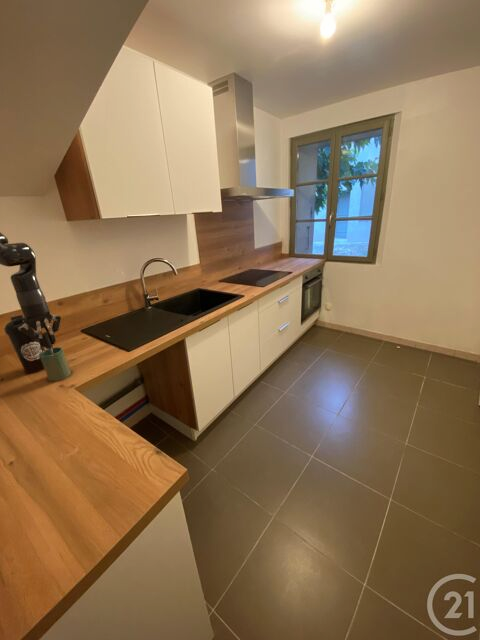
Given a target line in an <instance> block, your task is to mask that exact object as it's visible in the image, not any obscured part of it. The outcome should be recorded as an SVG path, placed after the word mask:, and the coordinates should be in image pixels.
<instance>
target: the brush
mask: <svg viewBox="0 0 480 640" xmlns="http://www.w3.org/2000/svg"><path fill="white" fill-rule="evenodd" d="M42 337H43V338H44V340H45V343H46V345H47V347H45V348H46V349H45V350H47V349H49V351H50V354H51V355H52V354H54V353H53V350H52V348H54V344H52V342H51V339H50V336H49V334H48V332H47V331H44V332H42Z"/></svg>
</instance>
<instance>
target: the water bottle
mask: <svg viewBox="0 0 480 640" xmlns="http://www.w3.org/2000/svg"><path fill="white" fill-rule="evenodd" d="M23 324H25V317H24V315H23V314H19V315H14V316H11V317H10V321H9V322H7V323H6V324H5V326H4V328H3V330H4V333H5V334H6V336H8V338H9V341H10V343H11V345H12V347H13V349H14V351H15V353H16V355H17V358H18V359H19V362H20V364H21V366H22V368H23V370H24V372H25V373H26V374H34V373H38V372H41V371H43V370H44V367H43V364H42V362H41V359H40V357H39V354H40V353H41V352H42V351H44V350H45V347H42V346H41V345H40V344H39V341H38V339H32V338H30V337H29V336H27V335H26V334H25V333H23V332H22V331H20V330H19V329H18V327H19V326H22V325H23ZM27 327H28V331H29V332H31V333H32V334H33V335H35V332H34V329H33V328H32V327H30V326H27Z"/></svg>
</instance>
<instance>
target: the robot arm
mask: <svg viewBox="0 0 480 640" xmlns="http://www.w3.org/2000/svg"><path fill="white" fill-rule="evenodd" d="M0 265H1V266H3V267H7V268H11V267H16V266H17V267H18V266H19V270H17V271H16V272H14V273H12V274H11V275H10V276H9V277H10V281H11V284H12V287H13V289H14V291H15V295H16V299H17V303H18V305H19V307H20V309H21V312H22V316H23V317H25V324H23V325H22V326H19V327H18V329H19V330H20V331H22V332H23V333H25V334H26V335H27V336H29V337H30V338H32V339H38V341H39V344H40V345H41V346H42V347H44V348H46V347H47V345H46V343H45V340H44V338H43V337H42V333H43V330H42V329H44V330H45V332H48V334H49V336H50V339H51V342H52V345H55V343H56V342H57V341H56V337H55V333H57V332H59V329H60V324H61V319H62V316H61V315H53V313H51V312H50V308H49V305H48V303H47V300H46V295H44V291H43V290H42V288H41V285H40V282H39V280H38V278H37V277H38V276H37V258H36V253H35V251H34V249H33V248H32V247H31V246H30V245H29V244H27V243H25V242H14V243H9V239H8V237H7V236H6V235H5V234H3V233H2V232H1V231H0ZM51 322H52V326H51ZM27 326H30V327H32V328H33V329H34V332H35V335H33V334H32V333H31V332H29V331H28V327H27Z"/></svg>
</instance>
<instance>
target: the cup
mask: <svg viewBox="0 0 480 640" xmlns="http://www.w3.org/2000/svg"><path fill="white" fill-rule="evenodd" d="M52 350H53V353H54V354H52V355H51V354H50V351H49V349H44V351H42V352H41V353H40V354H39V357H40V359H41V362H42V364H43V367H44V369H43V370H44V372H45V375H46V378H47V380H48V381H49V382H59V381H62V380H65V379H67V378H68V377H69V376H71V374H72V371H71V367H70V365H69V362H68V360H67V357H66V354H65V351H64V348H63V347H61V346H53V347H52Z"/></svg>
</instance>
